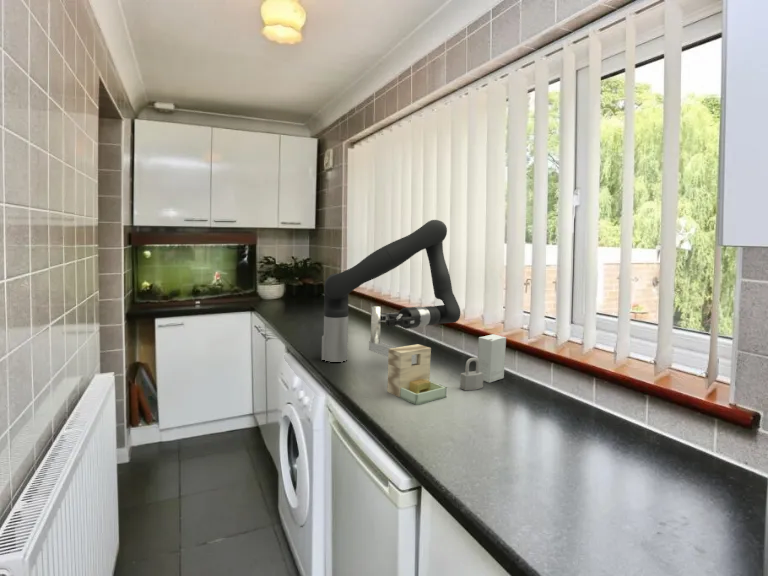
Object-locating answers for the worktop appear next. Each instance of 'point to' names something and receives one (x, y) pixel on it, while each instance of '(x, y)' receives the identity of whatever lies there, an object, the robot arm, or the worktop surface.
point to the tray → (424, 394)
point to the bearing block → (407, 367)
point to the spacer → (420, 386)
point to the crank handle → (375, 336)
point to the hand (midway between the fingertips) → (378, 321)
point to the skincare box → (491, 357)
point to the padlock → (471, 377)
